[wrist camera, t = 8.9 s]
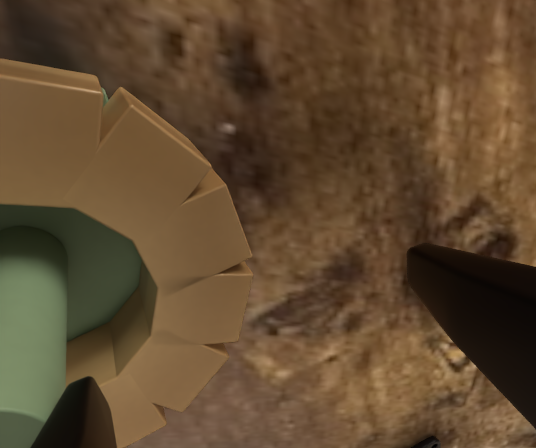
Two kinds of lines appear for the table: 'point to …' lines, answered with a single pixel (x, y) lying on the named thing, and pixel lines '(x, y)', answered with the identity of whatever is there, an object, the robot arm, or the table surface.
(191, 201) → the hoop
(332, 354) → the table surface
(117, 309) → the stand
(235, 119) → the table surface
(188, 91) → the table surface
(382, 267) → the table surface
